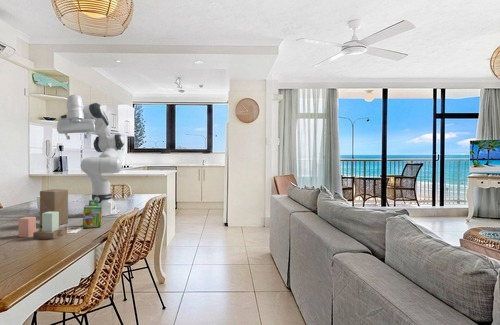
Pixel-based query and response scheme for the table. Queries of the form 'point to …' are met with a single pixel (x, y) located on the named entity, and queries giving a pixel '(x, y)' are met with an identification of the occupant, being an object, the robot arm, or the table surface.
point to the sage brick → (50, 221)
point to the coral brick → (27, 226)
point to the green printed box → (92, 215)
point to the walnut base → (50, 234)
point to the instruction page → (73, 229)
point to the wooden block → (54, 204)
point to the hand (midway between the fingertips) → (77, 138)
